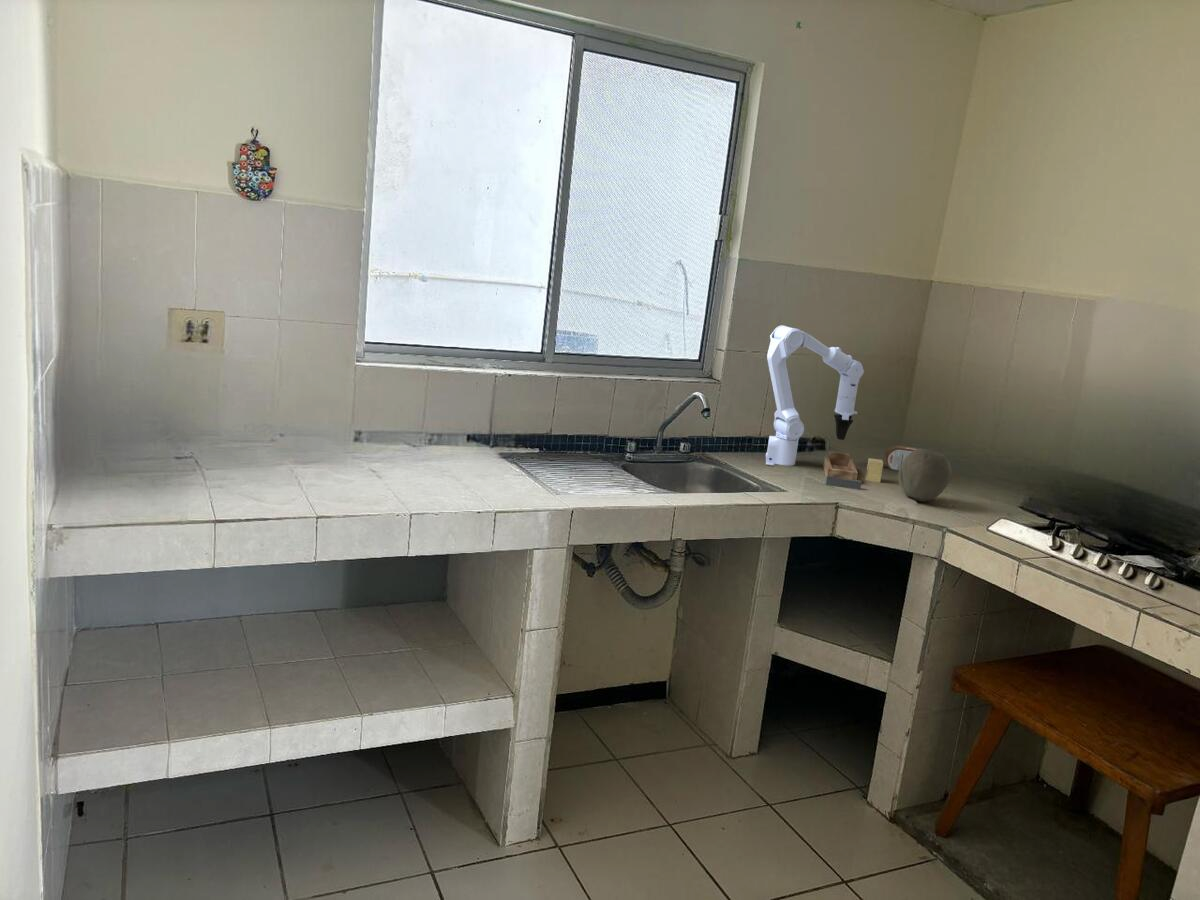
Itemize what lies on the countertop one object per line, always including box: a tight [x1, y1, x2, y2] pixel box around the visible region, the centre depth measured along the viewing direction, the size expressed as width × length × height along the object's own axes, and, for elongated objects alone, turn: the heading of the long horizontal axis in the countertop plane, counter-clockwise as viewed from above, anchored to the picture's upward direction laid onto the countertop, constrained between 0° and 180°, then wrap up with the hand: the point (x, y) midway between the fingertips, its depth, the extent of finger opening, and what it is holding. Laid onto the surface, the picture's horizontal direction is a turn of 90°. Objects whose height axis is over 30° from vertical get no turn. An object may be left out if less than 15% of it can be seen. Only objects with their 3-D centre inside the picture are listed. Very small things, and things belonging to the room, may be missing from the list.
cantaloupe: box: [897, 448, 953, 503], centre depth 269 cm, size 14×14×15 cm
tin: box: [883, 445, 922, 472], centre depth 305 cm, size 15×3×8 cm, turn 84°
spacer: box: [865, 457, 884, 483], centre depth 286 cm, size 4×4×7 cm
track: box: [824, 475, 863, 490], centre depth 287 cm, size 11×29×3 cm, turn 170°
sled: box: [822, 451, 859, 480], centre depth 290 cm, size 9×20×5 cm, turn 170°
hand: (840, 438), depth 302 cm, fingers open, 4 cm apart
